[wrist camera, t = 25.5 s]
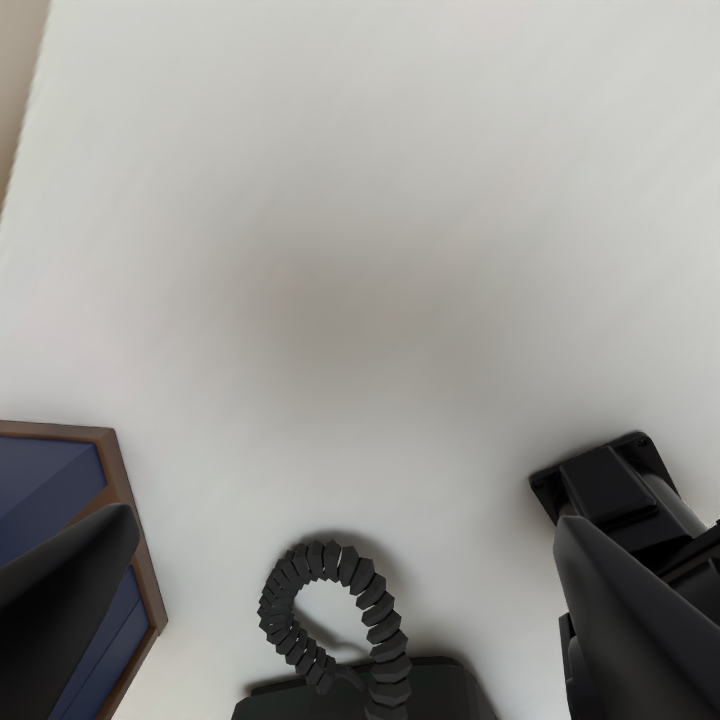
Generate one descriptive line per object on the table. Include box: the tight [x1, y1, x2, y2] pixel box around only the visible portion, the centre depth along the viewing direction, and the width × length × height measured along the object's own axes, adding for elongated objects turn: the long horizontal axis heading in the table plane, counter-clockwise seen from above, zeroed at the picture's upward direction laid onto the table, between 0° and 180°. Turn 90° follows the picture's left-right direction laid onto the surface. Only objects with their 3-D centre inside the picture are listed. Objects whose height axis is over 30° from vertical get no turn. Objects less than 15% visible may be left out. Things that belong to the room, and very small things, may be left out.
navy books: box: [48, 565, 150, 720], centre depth 24 cm, size 8×6×11 cm
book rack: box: [0, 421, 168, 720], centre depth 23 cm, size 8×18×11 cm, turn 179°
